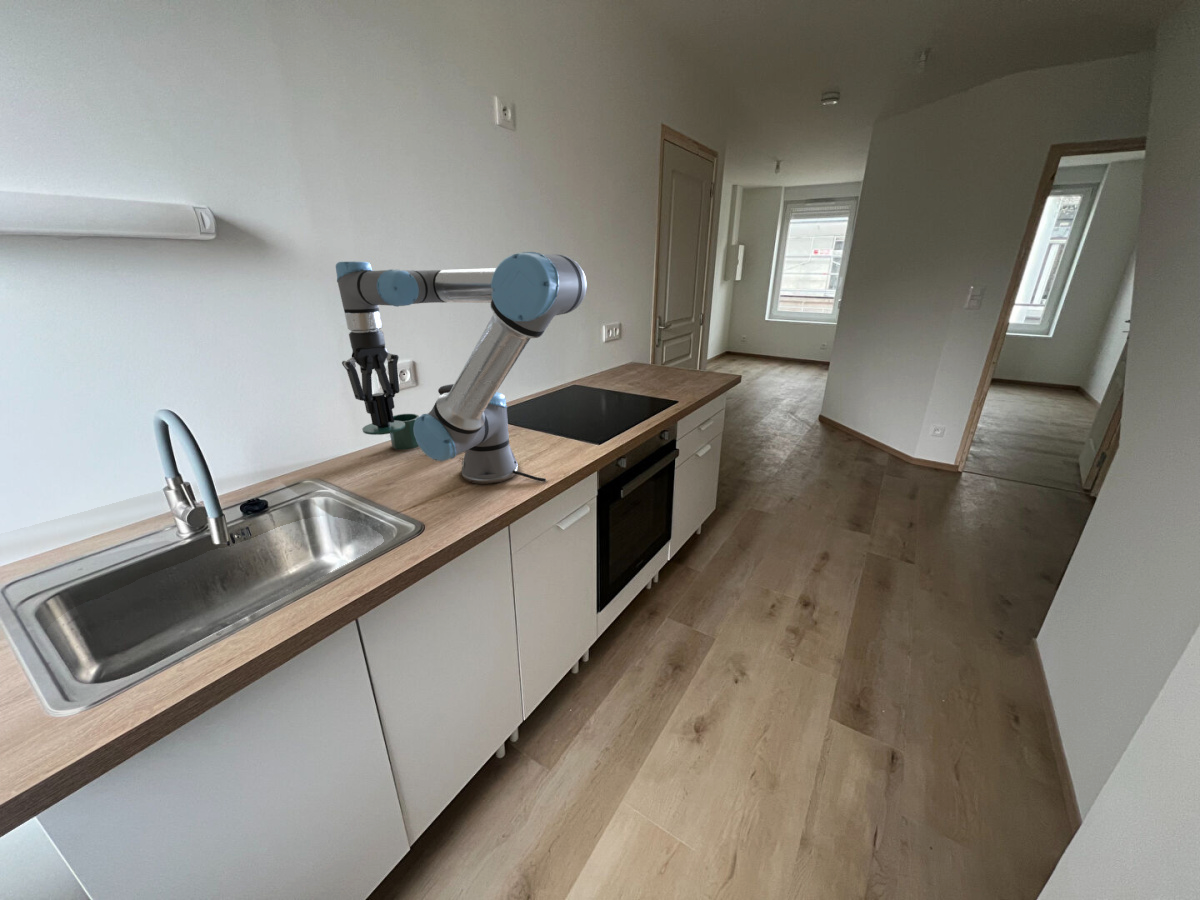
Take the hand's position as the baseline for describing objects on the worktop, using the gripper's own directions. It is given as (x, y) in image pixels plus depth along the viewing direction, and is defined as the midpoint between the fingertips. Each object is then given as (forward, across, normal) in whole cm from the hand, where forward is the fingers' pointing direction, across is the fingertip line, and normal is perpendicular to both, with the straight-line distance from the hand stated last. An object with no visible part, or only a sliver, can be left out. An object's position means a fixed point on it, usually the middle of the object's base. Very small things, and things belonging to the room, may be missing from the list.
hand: (383, 423), depth 117 cm
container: (+16, -26, -5) cm, 31 cm away
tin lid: (+1, 0, 0) cm, 1 cm away
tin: (+16, -16, -19) cm, 29 cm away
